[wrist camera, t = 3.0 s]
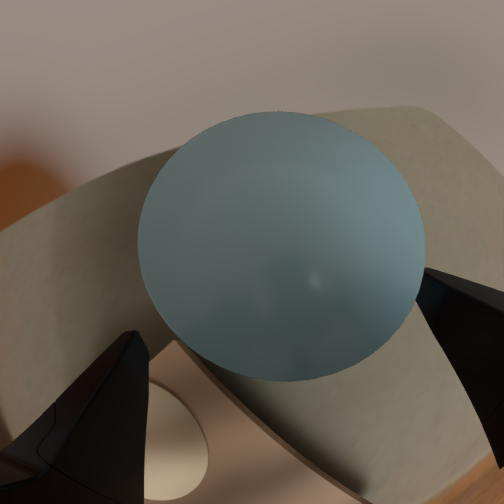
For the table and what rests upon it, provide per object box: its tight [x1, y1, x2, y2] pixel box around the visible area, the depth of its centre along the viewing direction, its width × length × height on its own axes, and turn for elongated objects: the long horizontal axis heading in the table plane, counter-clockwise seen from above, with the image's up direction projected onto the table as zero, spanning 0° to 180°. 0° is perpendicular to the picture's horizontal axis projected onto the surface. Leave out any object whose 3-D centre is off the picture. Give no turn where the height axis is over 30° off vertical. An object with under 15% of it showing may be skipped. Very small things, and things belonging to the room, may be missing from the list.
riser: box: [144, 340, 372, 504], centre depth 11 cm, size 19×12×3 cm, turn 44°
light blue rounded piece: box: [138, 112, 426, 381], centre depth 11 cm, size 6×6×12 cm
